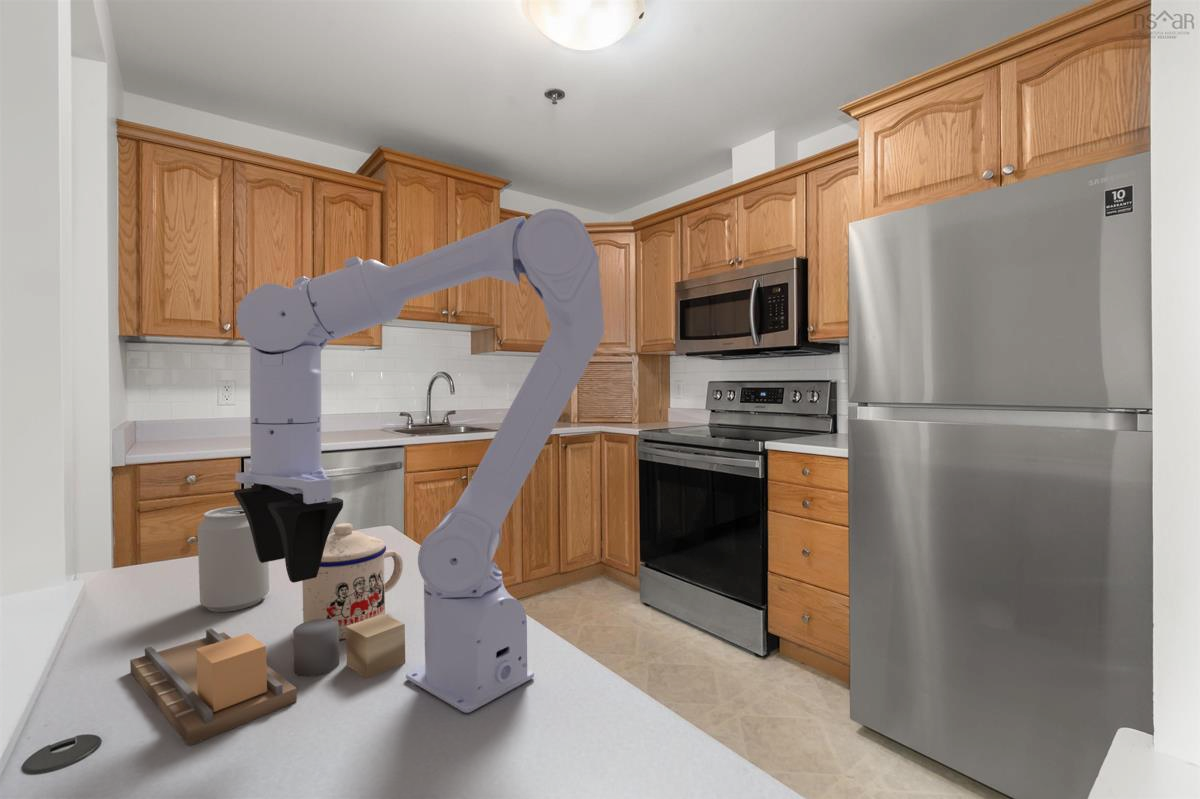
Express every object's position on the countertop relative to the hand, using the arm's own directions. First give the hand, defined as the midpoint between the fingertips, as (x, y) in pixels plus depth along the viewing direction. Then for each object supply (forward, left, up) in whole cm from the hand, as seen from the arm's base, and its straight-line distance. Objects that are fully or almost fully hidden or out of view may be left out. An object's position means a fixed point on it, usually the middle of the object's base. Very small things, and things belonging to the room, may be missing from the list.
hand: (287, 569), depth 54 cm
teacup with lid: (+9, -11, -11) cm, 18 cm away
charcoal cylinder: (+1, -3, -11) cm, 11 cm away
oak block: (-3, -7, -11) cm, 13 cm away
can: (+26, -4, -11) cm, 29 cm away
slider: (-1, +5, -9) cm, 11 cm away
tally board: (+5, +5, -11) cm, 13 cm away
